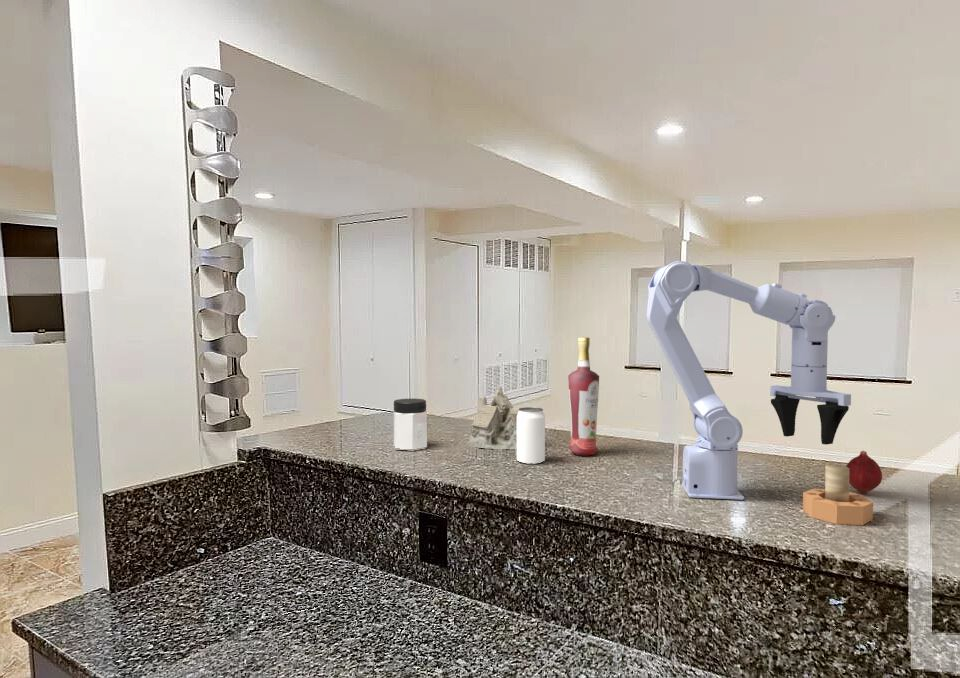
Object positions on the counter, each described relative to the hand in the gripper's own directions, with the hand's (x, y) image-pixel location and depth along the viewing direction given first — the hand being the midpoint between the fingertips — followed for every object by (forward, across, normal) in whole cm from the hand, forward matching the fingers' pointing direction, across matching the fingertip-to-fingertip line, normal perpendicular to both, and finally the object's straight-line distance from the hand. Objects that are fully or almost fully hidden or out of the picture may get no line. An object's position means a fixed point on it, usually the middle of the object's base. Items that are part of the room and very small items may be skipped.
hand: (807, 439), depth 108 cm
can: (+11, +44, +33) cm, 56 cm away
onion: (+11, -4, -11) cm, 16 cm away
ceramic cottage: (+11, +62, +31) cm, 70 cm away
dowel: (+10, -9, +5) cm, 15 cm away
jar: (+11, +69, +54) cm, 88 cm away
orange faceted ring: (+10, -9, +5) cm, 15 cm away
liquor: (+11, +45, +18) cm, 49 cm away
